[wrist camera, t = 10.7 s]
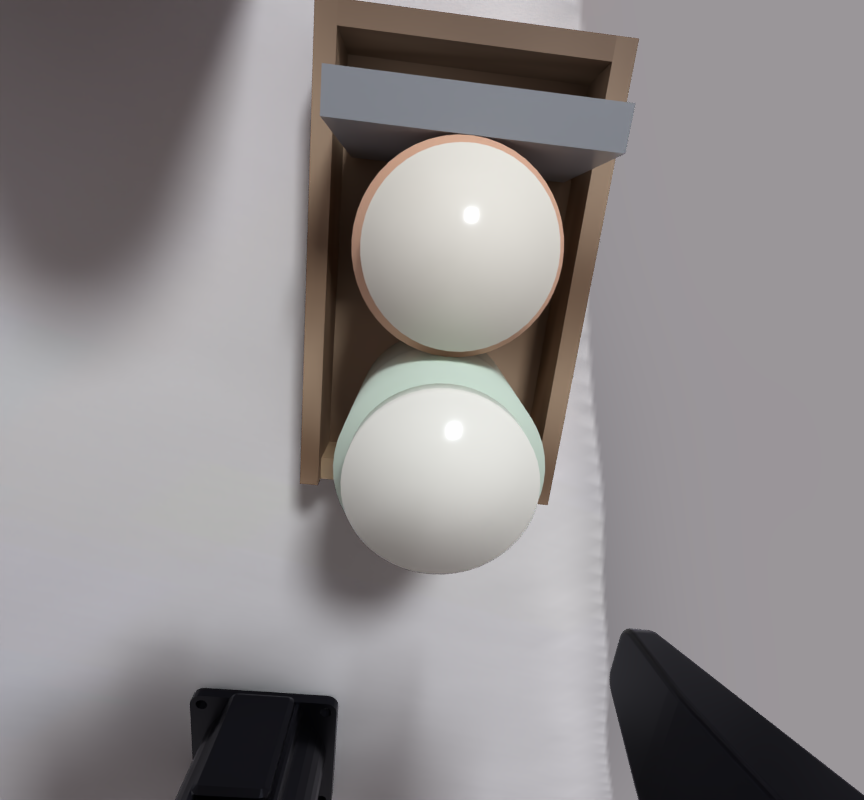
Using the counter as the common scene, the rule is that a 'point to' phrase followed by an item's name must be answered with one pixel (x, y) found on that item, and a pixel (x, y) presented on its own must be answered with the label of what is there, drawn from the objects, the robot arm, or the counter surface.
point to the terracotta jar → (457, 245)
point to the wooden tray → (350, 177)
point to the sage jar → (438, 461)
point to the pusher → (471, 118)
